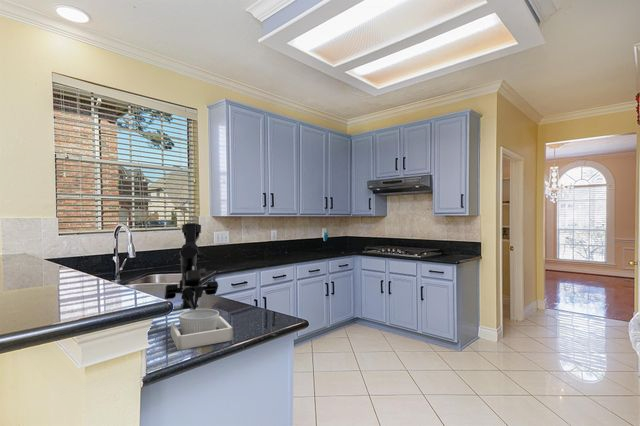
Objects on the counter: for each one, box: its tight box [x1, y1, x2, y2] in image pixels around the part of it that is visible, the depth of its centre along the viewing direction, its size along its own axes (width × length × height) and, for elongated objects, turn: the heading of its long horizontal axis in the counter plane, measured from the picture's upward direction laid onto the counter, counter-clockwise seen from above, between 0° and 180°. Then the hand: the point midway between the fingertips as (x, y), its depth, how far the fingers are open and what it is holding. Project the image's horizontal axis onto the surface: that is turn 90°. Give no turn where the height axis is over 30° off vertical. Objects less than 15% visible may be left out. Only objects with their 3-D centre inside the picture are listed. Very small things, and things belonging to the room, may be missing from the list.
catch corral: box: [170, 315, 234, 351], centre depth 112 cm, size 16×17×4 cm
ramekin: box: [178, 308, 220, 335], centre depth 116 cm, size 13×13×7 cm
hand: (194, 308), depth 121 cm, fingers closed, pressing on ramekin
